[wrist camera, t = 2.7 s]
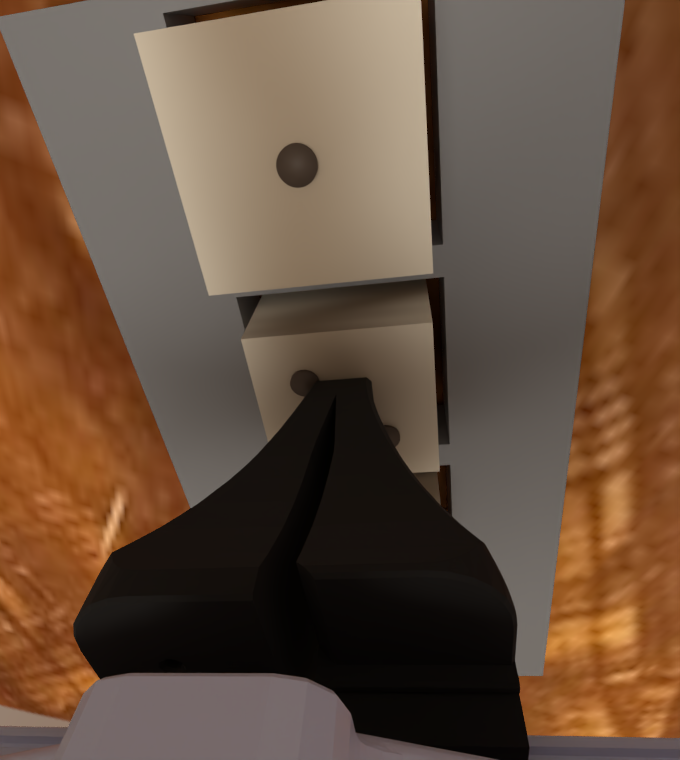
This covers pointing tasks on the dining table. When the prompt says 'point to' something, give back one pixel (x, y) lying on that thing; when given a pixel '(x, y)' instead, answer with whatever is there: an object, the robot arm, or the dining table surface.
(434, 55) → the grey slotted tray
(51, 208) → the dining table surface
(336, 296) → the cream dice block
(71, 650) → the dining table surface
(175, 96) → the key
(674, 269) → the dining table surface
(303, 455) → the robot arm
